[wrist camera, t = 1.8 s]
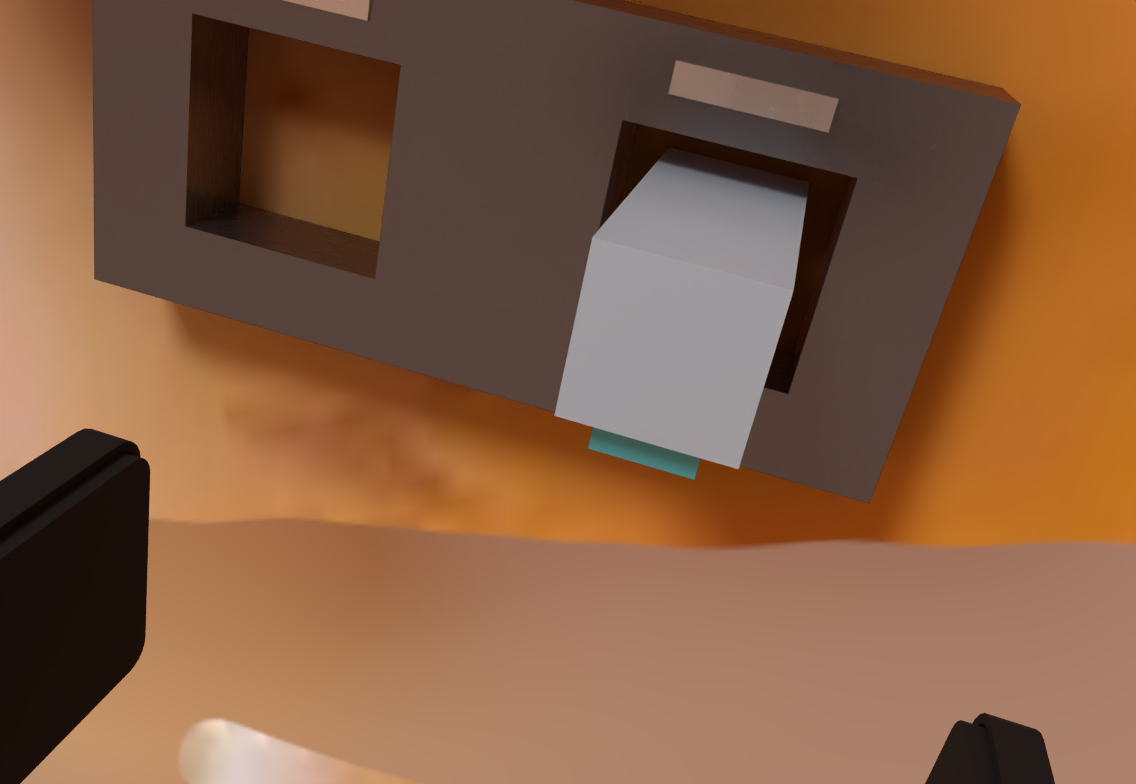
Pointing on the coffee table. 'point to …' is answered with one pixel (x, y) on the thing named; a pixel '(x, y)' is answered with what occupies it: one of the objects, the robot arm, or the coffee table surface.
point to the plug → (683, 312)
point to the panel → (543, 192)
